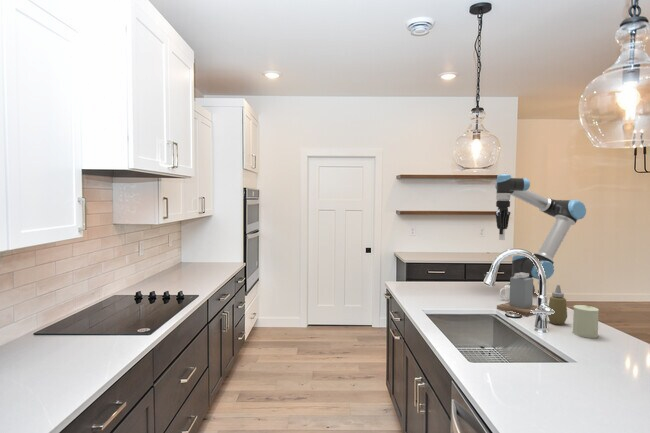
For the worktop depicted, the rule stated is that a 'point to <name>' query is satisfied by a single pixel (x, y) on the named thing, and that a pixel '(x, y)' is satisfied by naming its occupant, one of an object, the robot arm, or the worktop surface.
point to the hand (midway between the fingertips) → (502, 239)
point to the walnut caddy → (516, 309)
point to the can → (585, 321)
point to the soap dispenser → (521, 292)
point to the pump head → (521, 275)
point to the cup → (506, 292)
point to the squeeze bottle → (558, 307)
